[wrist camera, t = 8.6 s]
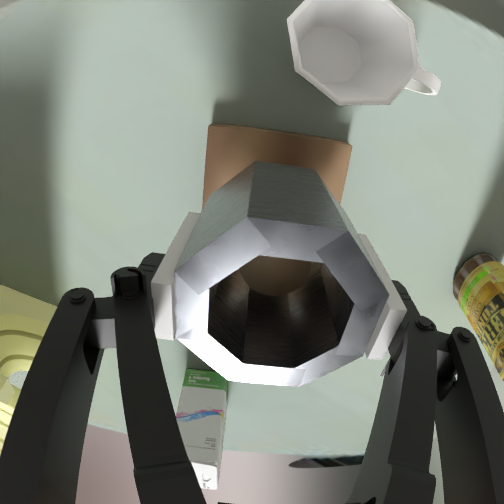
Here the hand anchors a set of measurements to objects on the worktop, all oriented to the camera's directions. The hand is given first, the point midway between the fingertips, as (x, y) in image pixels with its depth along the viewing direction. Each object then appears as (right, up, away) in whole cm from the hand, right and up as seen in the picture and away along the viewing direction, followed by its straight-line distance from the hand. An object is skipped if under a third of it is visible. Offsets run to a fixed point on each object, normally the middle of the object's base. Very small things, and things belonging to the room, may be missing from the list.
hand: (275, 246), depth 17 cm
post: (0, +4, +7) cm, 8 cm away
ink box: (-7, -17, +19) cm, 27 cm away
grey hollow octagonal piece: (0, +1, +2) cm, 2 cm away
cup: (+6, +13, +2) cm, 14 cm away
